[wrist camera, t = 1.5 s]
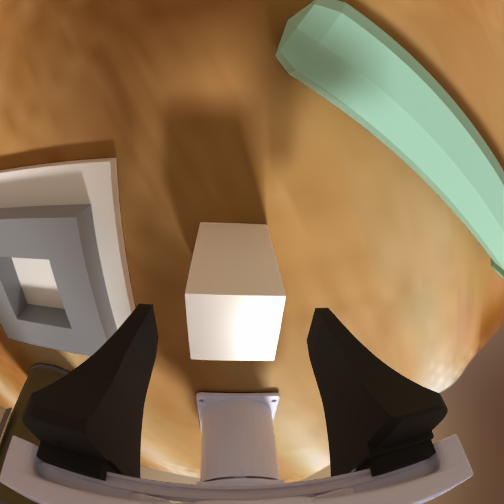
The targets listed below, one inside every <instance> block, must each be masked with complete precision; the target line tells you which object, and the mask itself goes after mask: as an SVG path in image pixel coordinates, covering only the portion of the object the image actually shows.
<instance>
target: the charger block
mask: <svg viewBox="0 0 504 504" xmlns="http://www.w3.org/2000/svg"><path fill="white" fill-rule="evenodd" d="M285 298H286V294H285V290H284V287H283V283H282V279H281V275H280V271H279V267H278V264H277V260H276V256H275V252H274V248H273V245H272V241H271V237H270V233H269V230H268V226H267V225H266V224H242V223H214V222H200V225H199V230H198V234H197V239H196V243H195V247H194V252H193V257H192V261H191V266H190V271H189V275H188V280H187V285H186V290H185V302H186V315H187V326H188V337H189V347H190V356H191V359H195V360H223V361H274V358H275V353H276V348H277V342H278V337H279V332H280V326H281V321H282V315H283V310H284V304H285Z"/></svg>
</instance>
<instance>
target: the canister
mask: <svg viewBox="0 0 504 504" xmlns="http://www.w3.org/2000/svg"><path fill="white" fill-rule="evenodd" d="M68 373H70V372H68V371H66V370H64V369H61V368H58V367H55V366H53V365H47V364H36V365H34V366H32V367H31V368H30V370H29V376H28V378H27V380H26V382H25V384H24V386H23V388H22V391H21V393H20V395H19V397H18V400H17V402H16V404H15V407H14V409H13V412H12V414H11V417H10V419H9V422H8V424H7V427H6V430H5V432H4V435H3V438H2V441H1V444H0V475H1V471H2V468H3V464H4V461H5V458H6V454H7V451H8V448H9V445H10V442H11V439H12V436H17V437H19V438H21V439H24V440H26V441H28V442H31V443H33V444H35V445H36V446H38V447H39V445H40V442H41V441H40V440H39V439H38V438H37V437H36V436H35V435H34V434H33V433H32V432H31V431H30V430H29V429H28V428H27V427H26V426H25V425H24V423H23V421H22V415H23V413H24V410H25V407H26V405H27V402H28V400H29V398H30V396H31V394H32V393H33V392H35V391H38V390H40V389H42V388H44V387H46V386H48V385H50V384H52V383H54V382H55V381H57V380H59V379H61V378H62V377H64V376H65V375H67V374H68ZM11 409H12V408H9V409H6V411H5V413H4V415H3V418H2V420H1V423H0V436H1V434H2V431H3V428H4V426H5V423H6V421H7V418H8V416H9V413H10V411H11ZM0 504H39V503H37V502H35V501H32V500H30V499H28V498H27V497H25V496H23V495H21V494H19V493H18V492H16V491H14V490H13V489H11V488H9V487H8V486H6V485H5V484H3V483H1V482H0Z"/></svg>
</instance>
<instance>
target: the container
mask: <svg viewBox="0 0 504 504" xmlns="http://www.w3.org/2000/svg"><path fill="white" fill-rule="evenodd" d="M275 57H276V58H277V59H278V61H279V62H280V63H281V65H282V66H283V67H284V69H285V70H286V71H287V73H288V74H289V75H291V76H292V77H294V78H295V79H297V80H299V81H300V82H302V83H303V84H305V85H306V86H308V87H309V88H311V89H312V90H314V91H315V92H317V93H318V94H320V95H321V96H323V97H324V98H326V99H327V100H328V101H330V102H331V103H333V104H334V105H335V106H337V107H338V108H340V109H341V110H342V111H344V112H345V113H346V114H348V115H349V116H350V117H352V118H353V119H354V120H355V121H357V122H358V123H359V124H361V125H362V126H363V127H364V128H366V129H367V130H368V131H369V132H371V133H372V134H373V135H374V136H375V137H377V138H378V139H379V140H380V141H381V142H383V143H384V144H385V145H386V146H387V147H388V148H390V149H391V150H392V151H393V152H394V153H395V154H396V155H397V156H399V157H400V158H401V159H402V160H403V161H404V162H405V163H406V164H407V165H408V166H409V167H410V168H412V169H413V170H414V171H415V172H416V173H417V174H418V175H419V176H420V177H421V178H422V179H423V180H424V181H425V182H426V183H427V184H428V185H429V186H430V187H431V188H432V189H433V190H434V191H435V192H436V193H437V194H438V195H439V197H440V198H441V199H442V200H443V201H444V202H445V203H446V204H447V205H448V206H449V207H450V208H451V210H452V211H453V212H454V213H455V214H456V215H457V216H458V217H459V219H460V220H461V221H462V222H463V223H464V224H465V226H466V227H467V228H468V229H469V230H470V232H471V233H472V234H473V235H474V237H475V238H476V239H477V240H478V242H479V243H480V244H481V245H482V247H483V248H484V249H485V251H486V252H487V253H488V255H489V256H490V257H491V266H492V268H493V269H494V270H495V271H496V272H497V273H498V274H499V275H500V276H501V277H502V278H503V279H504V171H503V169H502V167H501V166H500V164H499V162H498V161H497V159H496V158H495V156H494V154H493V153H492V151H491V150H490V148H489V147H488V145H487V144H486V142H485V141H484V139H483V138H482V136H481V135H480V134H479V132H478V131H477V129H476V128H475V127H474V125H473V124H472V123H471V121H470V120H469V119H468V117H467V116H466V115H465V114H464V112H463V111H462V110H461V109H460V107H459V106H458V105H457V104H456V102H455V101H454V100H453V99H452V98H451V97H450V95H449V94H448V93H447V92H446V91H445V90H444V88H443V87H442V86H441V85H440V84H439V83H438V82H437V81H436V80H435V79H434V78H433V76H432V75H431V74H430V73H429V72H428V71H427V70H426V69H425V68H424V67H423V66H422V65H421V64H420V63H419V62H418V61H417V60H416V59H415V58H414V57H413V56H412V55H410V54H409V53H408V52H407V51H406V50H405V49H404V48H403V47H402V46H401V45H400V44H398V43H397V42H396V41H395V40H394V39H393V38H391V37H390V36H389V35H388V34H387V33H386V32H384V31H383V30H382V29H381V28H379V27H378V26H377V25H376V24H374V23H373V22H372V21H371V20H369V19H368V18H367V17H365V16H364V15H363V14H361V13H360V12H358V11H357V10H356V9H354V8H353V7H351V6H350V5H349V4H347V3H346V2H342V1H338V0H314V1H313V2H312V3H310V4H309V5H307V6H306V7H305V8H303V9H302V10H300V11H299V12H298V13H296V14H295V15H294V16H292V17H291V18H290V19H288V21H287V23H286V26H285V29H284V32H283V35H282V37H281V40H280V43H279V46H278V49H277V52H276V55H275Z"/></svg>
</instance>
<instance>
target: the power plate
mask: <svg viewBox="0 0 504 504" xmlns="http://www.w3.org/2000/svg"><path fill="white" fill-rule="evenodd" d="M134 309H135V304H134V299H133V293H132V288H131V283H130V277H129V271H128V265H127V258H126V252H125V245H124V237H123V229H122V221H121V212H120V201H119V190H118V176H117V158H101V159H88V160H76V161H65V162H56V163H47V164H39V165H32V166H25V167H18V168H12V169H6V170H0V323H1V325H2V327H3V329H4V331H5V333H6V335H7V337H8V339H12V340H16V341H20V342H24V343H28V344H32V345H37V346H41V347H46V348H50V349H55V350H60V351H65V352H71V353H76V354H82V355H88V356H92V355H93V354H94V353H95V352H96V351H97V350H98V349H99V348H100V347H101V346H102V345H103V344H104V343H105V342H106V341H107V340H108V339H109V338H110V337H111V336H112V335H113V334H114V333H115V332H116V331H117V329H118V328H119V327H120V326H121V325H122V324H123V323H124V321H125V320H126V319H127V318H128V317H129V315H130V314H131V313H132V312H133V311H134Z"/></svg>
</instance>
